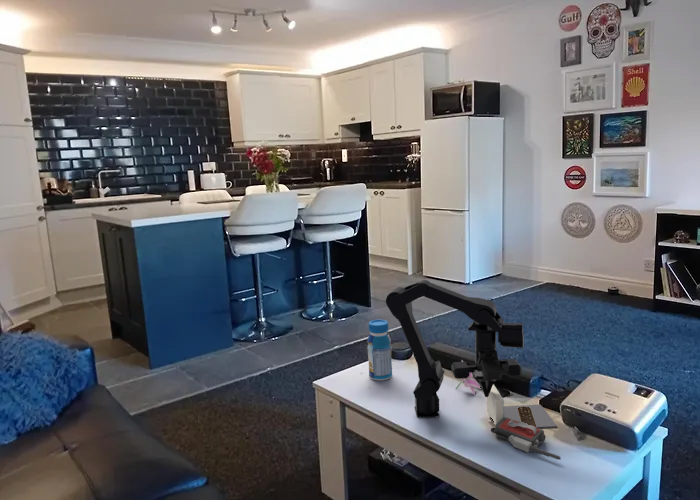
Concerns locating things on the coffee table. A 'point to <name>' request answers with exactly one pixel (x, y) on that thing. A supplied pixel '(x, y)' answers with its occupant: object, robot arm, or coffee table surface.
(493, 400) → the tile
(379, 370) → the beverage bottle
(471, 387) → the lily
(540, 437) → the walkie-talkie
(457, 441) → the coffee table surface
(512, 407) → the mat
